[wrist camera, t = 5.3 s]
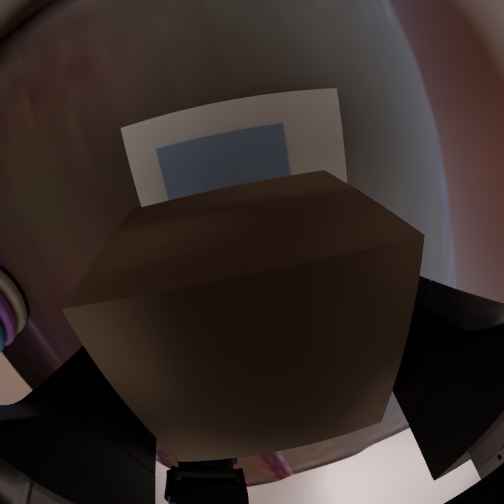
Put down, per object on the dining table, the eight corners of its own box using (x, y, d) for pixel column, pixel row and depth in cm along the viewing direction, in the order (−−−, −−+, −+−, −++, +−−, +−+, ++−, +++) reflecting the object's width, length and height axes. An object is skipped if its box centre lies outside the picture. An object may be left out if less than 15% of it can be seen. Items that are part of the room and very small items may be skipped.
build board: (216, 394, 29) (217, 402, 28) (124, 127, 17) (119, 128, 16) (342, 367, 29) (345, 374, 28) (332, 88, 17) (337, 87, 16)
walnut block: (185, 349, 11) (180, 461, 7) (131, 209, 8) (61, 308, 4) (331, 320, 11) (380, 421, 7) (324, 169, 9) (424, 235, 4)
